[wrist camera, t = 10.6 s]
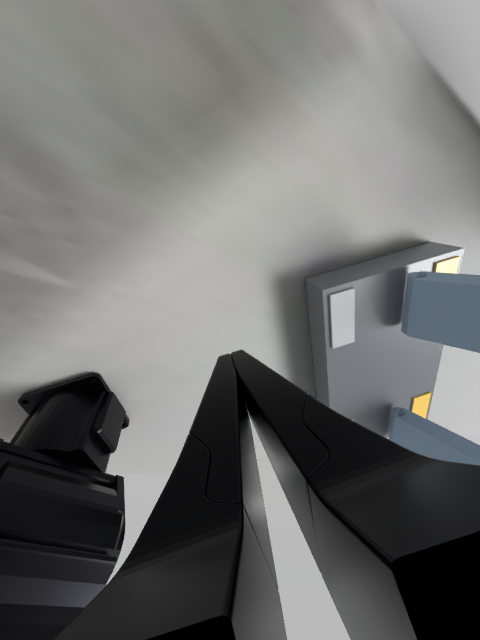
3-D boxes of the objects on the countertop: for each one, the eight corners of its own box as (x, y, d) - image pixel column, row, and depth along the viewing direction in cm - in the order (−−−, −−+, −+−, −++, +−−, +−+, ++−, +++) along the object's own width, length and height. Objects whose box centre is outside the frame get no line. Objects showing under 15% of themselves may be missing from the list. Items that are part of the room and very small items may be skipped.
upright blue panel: (385, 443, 28) (487, 507, 22) (388, 413, 26) (504, 475, 19) (392, 434, 29) (493, 493, 22) (396, 404, 27) (510, 461, 20)
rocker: (398, 333, 21) (559, 371, 15) (404, 278, 19) (598, 296, 13) (404, 324, 22) (559, 356, 16) (411, 270, 19) (596, 283, 13)
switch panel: (319, 435, 31) (333, 458, 29) (304, 278, 21) (323, 291, 18) (406, 404, 32) (427, 424, 30) (430, 241, 22) (466, 248, 20)
